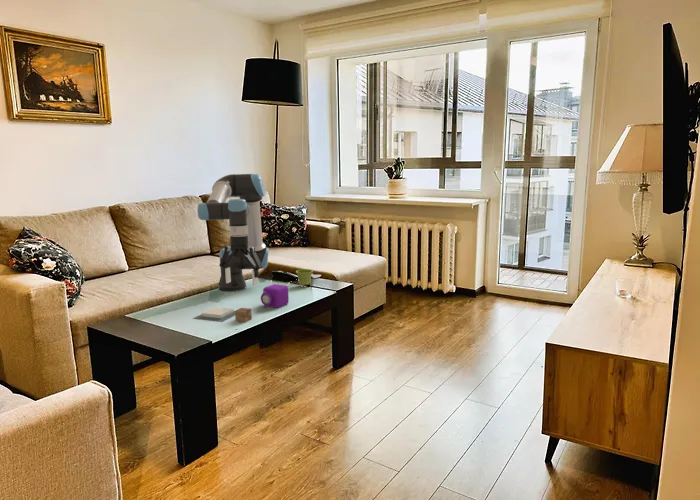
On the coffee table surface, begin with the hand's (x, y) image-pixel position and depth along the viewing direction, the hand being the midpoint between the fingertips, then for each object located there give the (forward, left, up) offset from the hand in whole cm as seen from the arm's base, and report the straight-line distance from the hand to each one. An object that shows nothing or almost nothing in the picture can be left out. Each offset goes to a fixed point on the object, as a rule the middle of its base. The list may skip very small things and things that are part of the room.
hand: (241, 283), depth 214 cm
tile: (-2, -20, -15) cm, 25 cm away
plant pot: (-64, -1, -17) cm, 66 cm away
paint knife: (-76, -9, -17) cm, 78 cm away
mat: (-2, -15, -17) cm, 23 cm away
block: (0, 0, -17) cm, 17 cm away
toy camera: (-24, +2, -17) cm, 29 cm away
